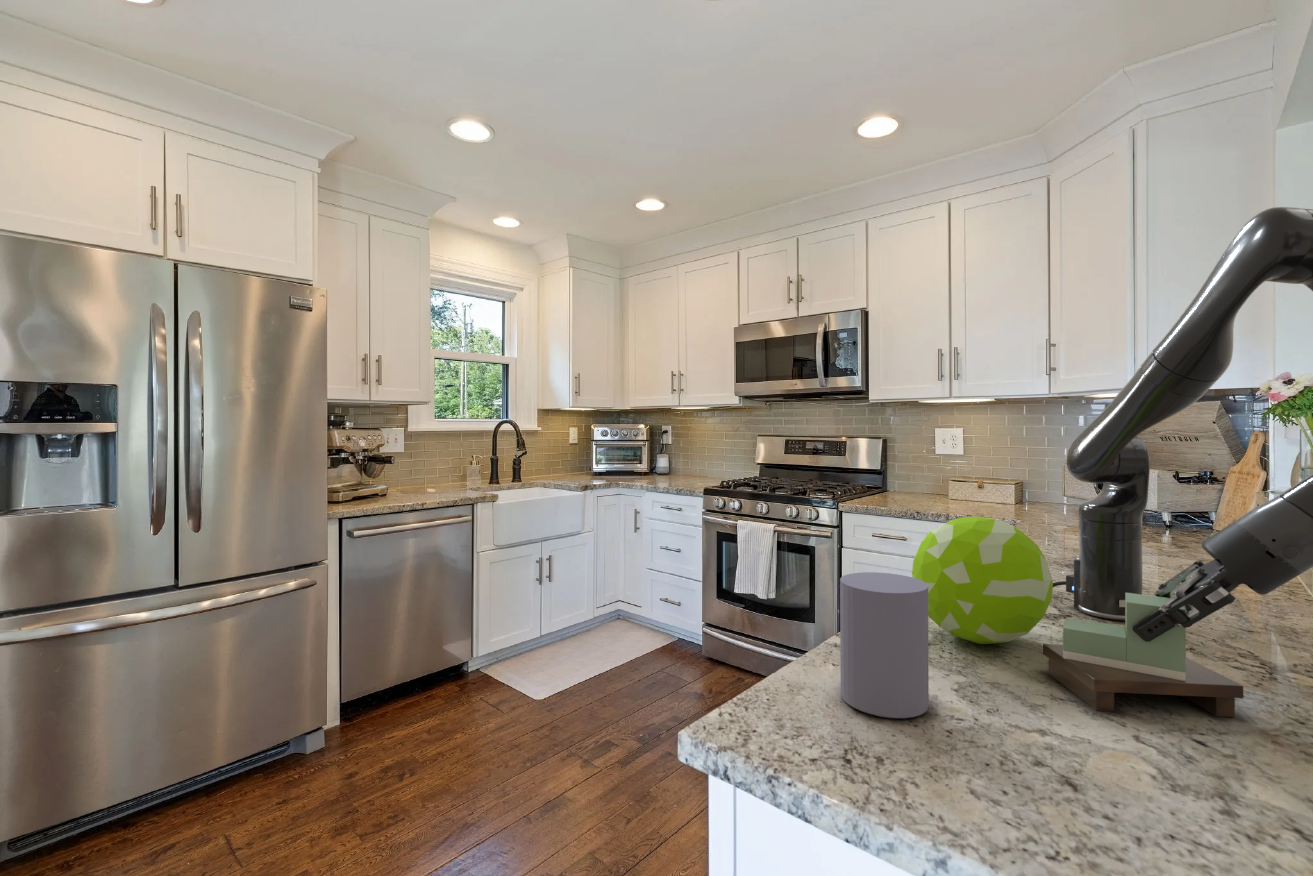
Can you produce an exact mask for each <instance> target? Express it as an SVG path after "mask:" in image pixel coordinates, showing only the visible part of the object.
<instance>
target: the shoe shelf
mask: <svg viewBox="0 0 1313 876" xmlns="http://www.w3.org/2000/svg"><path fill="white" fill-rule="evenodd" d="M1042 655H1043V656H1044V657H1046V658H1047V659H1048V661H1047V662H1048V663H1047V665H1048V666H1047V667H1048V668H1047V669H1048V673H1047V674H1048V675H1049V676H1051V677H1052V678H1053V679H1055V680H1056V681H1057V682H1058V683H1060V684H1061V685H1062V686H1063V687H1065V688H1067V690H1069V691H1070V692H1072V693H1073V694H1074V695H1075V696H1077V697H1078V698H1079V699H1081V700H1082V701H1084V703H1086V704H1087V705H1089V706H1090V707H1091V708H1092V709H1094V710H1095V711H1097V712H1099V711H1101V712H1102V711H1103V712H1115V693H1120V694H1141V695H1161V696H1162V695H1163V696H1181V697H1182V698H1184V699H1186V700H1188V702H1191V703H1193V704H1194V705H1196V706H1198V707H1200V708H1201V709H1203V710H1205V711H1207V712H1208V713H1210V714H1212V715H1213V716H1215V717H1220V718H1221V717H1224V718H1235V717H1236V709H1235V708H1236V699H1244V685H1242V684H1241V683H1239V682H1237V681H1235V680H1232V679H1231V678H1228V677H1226V676H1224V675H1222V674H1221V673H1218V672H1216V671H1214V670H1212V669H1210V668H1208V667H1206V666H1204V665H1203V664H1200V663H1198V662H1196V661H1194V660H1192V659H1190V658H1188V657H1186V672H1185V673H1186V681H1182V680H1176V679H1171V678H1166V677H1160V676H1155V675H1150V674H1144V673H1139V672H1134V671H1128V670H1123V669H1118V668H1112V667H1107V666H1102V665H1096V664H1091V663H1086V662H1080V661H1075V660H1070V659H1064V658H1063V644H1059V643H1058V644H1055V643H1042Z"/></svg>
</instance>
